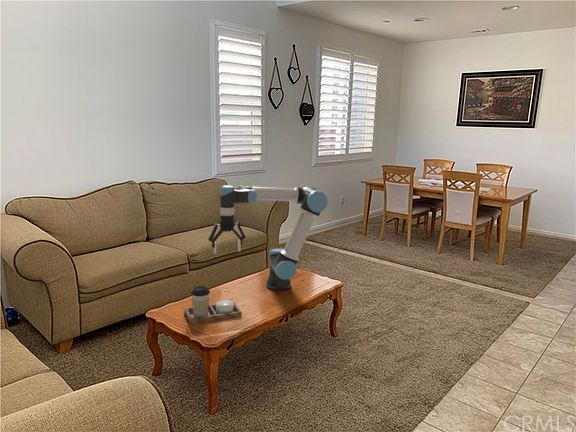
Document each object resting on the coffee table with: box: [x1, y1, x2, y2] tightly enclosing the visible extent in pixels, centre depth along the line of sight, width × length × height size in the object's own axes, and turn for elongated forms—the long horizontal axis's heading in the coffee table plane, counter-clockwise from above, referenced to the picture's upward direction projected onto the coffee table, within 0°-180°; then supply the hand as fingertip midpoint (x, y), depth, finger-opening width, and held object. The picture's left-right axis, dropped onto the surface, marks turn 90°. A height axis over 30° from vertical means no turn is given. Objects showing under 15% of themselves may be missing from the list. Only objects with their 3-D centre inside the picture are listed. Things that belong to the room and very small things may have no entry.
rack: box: [184, 301, 243, 325], centre depth 224 cm, size 26×14×4 cm, turn 112°
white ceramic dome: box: [215, 299, 234, 314], centre depth 226 cm, size 9×9×5 cm
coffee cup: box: [190, 286, 211, 318], centre depth 220 cm, size 9×9×15 cm
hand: (227, 252), depth 242 cm, fingers open, 13 cm apart
